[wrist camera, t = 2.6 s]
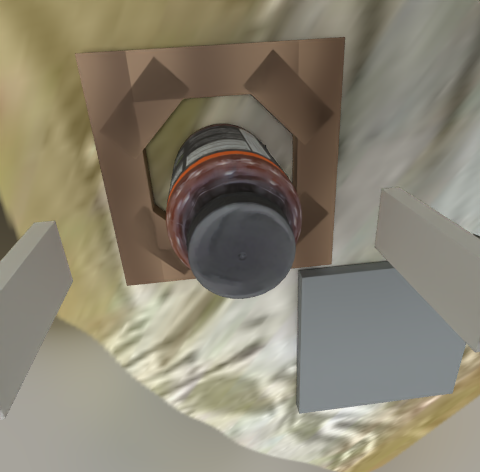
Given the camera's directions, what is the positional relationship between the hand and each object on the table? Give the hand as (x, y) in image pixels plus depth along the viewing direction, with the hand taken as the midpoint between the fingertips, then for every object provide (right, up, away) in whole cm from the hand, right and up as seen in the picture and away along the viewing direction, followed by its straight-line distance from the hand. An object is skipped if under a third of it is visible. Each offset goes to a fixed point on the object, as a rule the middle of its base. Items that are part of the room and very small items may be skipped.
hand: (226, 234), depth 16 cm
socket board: (-1, +4, +8) cm, 9 cm away
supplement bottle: (-1, +4, +8) cm, 10 cm away
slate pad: (+12, -8, +16) cm, 22 cm away
